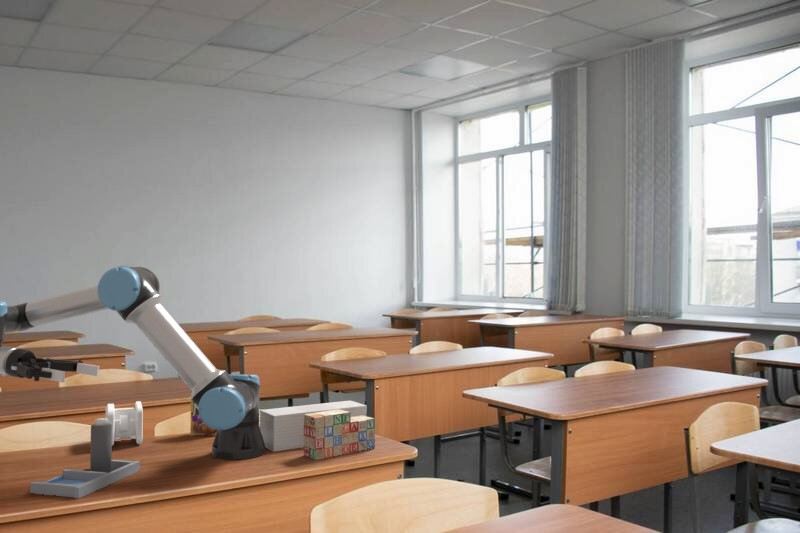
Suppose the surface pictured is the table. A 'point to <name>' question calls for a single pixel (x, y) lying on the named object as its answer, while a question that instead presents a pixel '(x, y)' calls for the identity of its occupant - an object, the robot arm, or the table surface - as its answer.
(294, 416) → the long white block
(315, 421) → the stack of blocks
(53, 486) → the grey frame
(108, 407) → the cable organizer
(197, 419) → the candy box
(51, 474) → the table surface
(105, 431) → the grey bottle
